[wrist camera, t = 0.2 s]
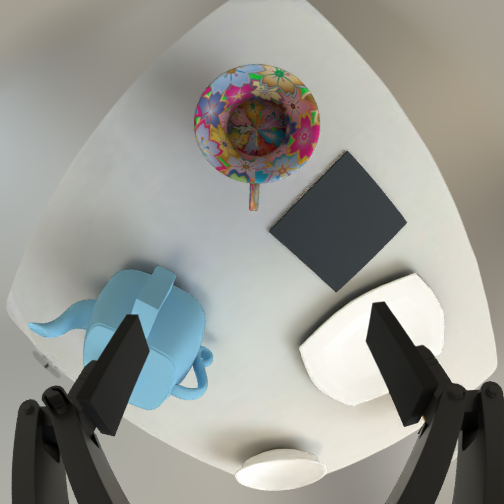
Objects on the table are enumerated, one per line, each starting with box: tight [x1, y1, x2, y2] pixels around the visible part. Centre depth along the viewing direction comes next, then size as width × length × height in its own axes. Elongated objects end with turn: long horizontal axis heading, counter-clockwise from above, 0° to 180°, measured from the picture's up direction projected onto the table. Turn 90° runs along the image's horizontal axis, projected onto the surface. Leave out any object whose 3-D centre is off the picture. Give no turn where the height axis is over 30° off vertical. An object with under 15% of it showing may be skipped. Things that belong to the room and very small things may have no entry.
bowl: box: [235, 449, 327, 490], centre depth 49 cm, size 20×20×6 cm
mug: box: [194, 64, 320, 211], centre depth 24 cm, size 12×9×11 cm
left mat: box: [269, 151, 407, 292], centre depth 33 cm, size 13×12×1 cm
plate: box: [299, 273, 444, 406], centre depth 38 cm, size 23×23×2 cm
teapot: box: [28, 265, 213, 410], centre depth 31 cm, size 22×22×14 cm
